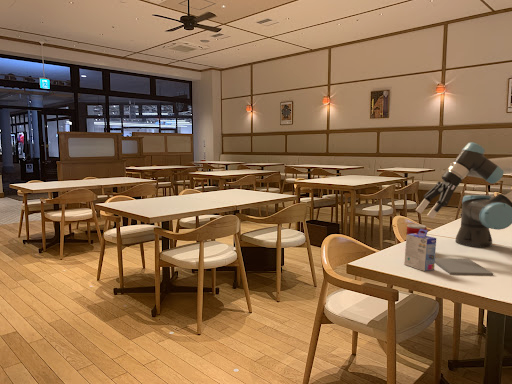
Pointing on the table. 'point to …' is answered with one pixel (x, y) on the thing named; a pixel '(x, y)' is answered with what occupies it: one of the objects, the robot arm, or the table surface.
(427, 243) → the ink cartridge box
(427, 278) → the table surface
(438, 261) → the rubber mat
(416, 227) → the canned food
